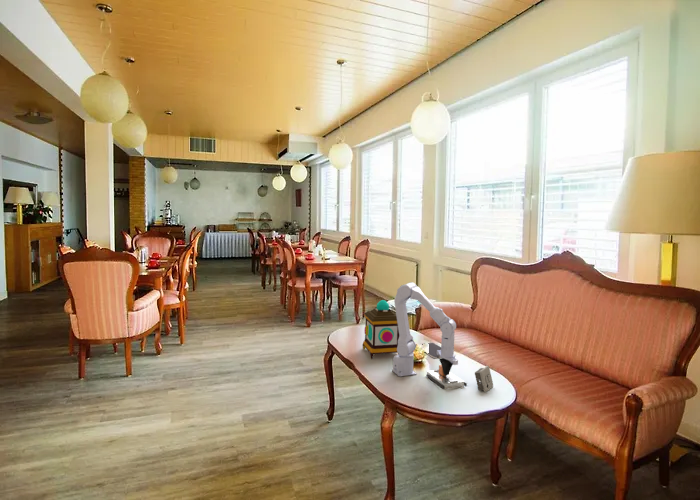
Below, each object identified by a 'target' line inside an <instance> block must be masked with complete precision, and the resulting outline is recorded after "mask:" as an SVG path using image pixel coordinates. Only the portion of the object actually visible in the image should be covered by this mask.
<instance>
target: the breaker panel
mask: <svg viewBox="0 0 700 500" xmlns="http://www.w3.org/2000/svg"><path fill="white" fill-rule="evenodd" d="M427 374H428V375H429V376H431V377H432V378H433V379H435V380H436V381H437V382H439V383H440V384H441V385H443V386H444V390H448V389H451V390H452V389H457V388H458V389H459V388H463V387H464V386H465V385H464V382H465V381H464V380H463V379H461V378H460V377H458V376H457V375H455V374H453V373H452V372H451V371H450V373H449V375H443V376H442V375H441V374H439V368H438V369H433V370H432V369H431V370H427V371H426V375H427Z"/></svg>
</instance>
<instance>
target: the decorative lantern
mask: <svg viewBox="0 0 700 500" xmlns="http://www.w3.org/2000/svg"><path fill="white" fill-rule="evenodd" d="M363 315H364V319H365V325H364V340H363V342H362V349H363V350H365V349H366V351H368V352H369V354H370V356H369V357H370V359H371V360H374V356H375V355H383V354H396V353H397V354H398V352H397V346H398V339H399V330H398V323H397V316H396V312H393V310H392V309H390V304H389V302H388V301H386V300H385V299H382V300H379V301H378V302H377V304H376V307H374V308H373V309H371V310H367V311H365V312H364V313H363Z"/></svg>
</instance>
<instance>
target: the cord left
mask: <svg viewBox="0 0 700 500" xmlns="http://www.w3.org/2000/svg"><path fill="white" fill-rule="evenodd" d="M425 375H426V376H425V377H426V378H427V379H429V380H431V381H432V382H433V383H434V384H435V385H437V386H439V387H440V388H441V389H444V386H443V385H441V384H440V383H439V382H437V381H436V380H435V379H433V378H432V377H431V376H429V375H428V374H427V373H426V374H425ZM444 390H445V389H444Z"/></svg>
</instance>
